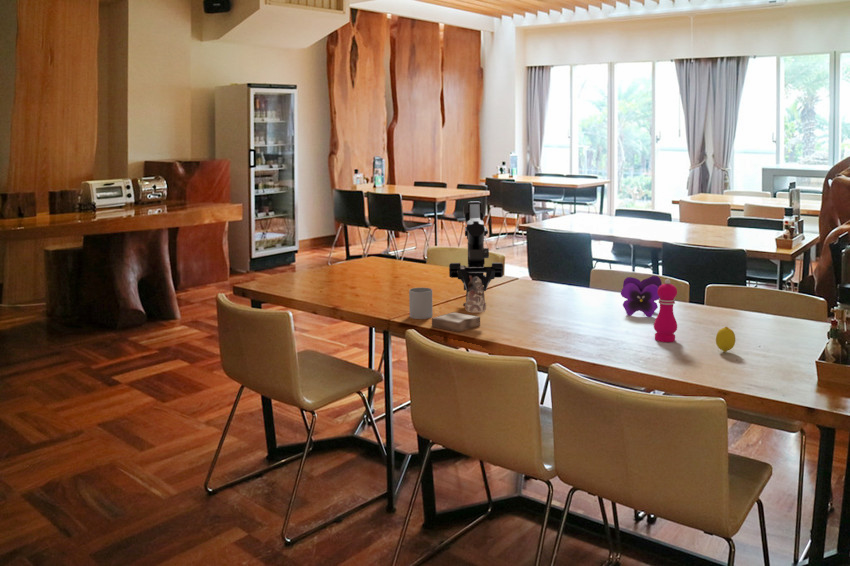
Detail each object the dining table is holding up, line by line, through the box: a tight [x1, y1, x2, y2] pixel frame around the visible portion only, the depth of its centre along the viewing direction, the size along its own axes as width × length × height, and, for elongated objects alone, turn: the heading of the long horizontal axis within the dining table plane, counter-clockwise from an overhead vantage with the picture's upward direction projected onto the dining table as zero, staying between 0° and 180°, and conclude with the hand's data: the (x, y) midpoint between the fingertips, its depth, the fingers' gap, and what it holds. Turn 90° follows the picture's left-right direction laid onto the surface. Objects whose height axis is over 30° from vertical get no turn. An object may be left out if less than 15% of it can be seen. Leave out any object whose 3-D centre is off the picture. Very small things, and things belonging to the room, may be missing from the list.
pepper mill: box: [653, 278, 678, 343], centre depth 246 cm, size 7×7×20 cm
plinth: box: [431, 311, 481, 333], centre depth 269 cm, size 12×12×3 cm
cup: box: [408, 287, 433, 320], centre depth 282 cm, size 8×8×10 cm
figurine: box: [464, 276, 487, 313], centre depth 265 cm, size 7×7×12 cm
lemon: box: [715, 326, 736, 353], centre depth 233 cm, size 6×6×8 cm
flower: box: [620, 275, 663, 318], centre depth 285 cm, size 15×15×14 cm
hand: (476, 290), depth 263 cm, fingers closed on figurine, 6 cm apart
